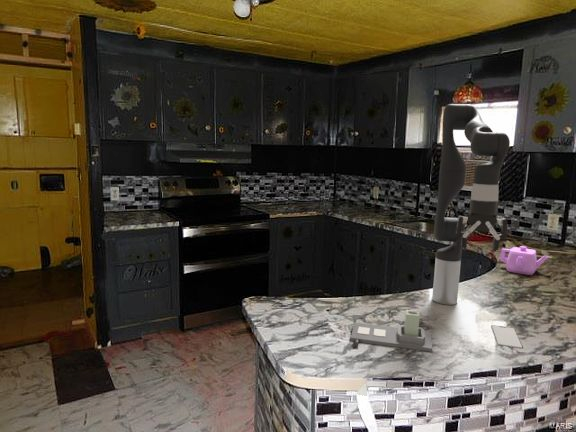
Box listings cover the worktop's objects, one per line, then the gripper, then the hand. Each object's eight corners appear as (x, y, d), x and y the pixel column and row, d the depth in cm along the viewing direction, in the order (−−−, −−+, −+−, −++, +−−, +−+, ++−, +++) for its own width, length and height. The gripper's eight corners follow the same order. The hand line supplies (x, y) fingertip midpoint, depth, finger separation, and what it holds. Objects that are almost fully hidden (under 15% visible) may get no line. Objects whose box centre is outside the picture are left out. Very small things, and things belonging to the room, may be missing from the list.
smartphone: (497, 344, 129) (490, 324, 143) (496, 346, 130) (490, 326, 144) (524, 348, 127) (514, 328, 141) (523, 350, 127) (514, 330, 141)
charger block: (403, 333, 133) (405, 309, 132) (417, 335, 132) (419, 310, 131) (404, 339, 130) (405, 313, 128) (417, 340, 129) (419, 315, 127)
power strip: (354, 325, 141) (354, 317, 141) (429, 334, 135) (430, 326, 135) (349, 346, 126) (349, 337, 125) (433, 358, 120) (434, 348, 120)
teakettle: (523, 265, 221) (526, 242, 219) (548, 275, 205) (551, 250, 203) (494, 266, 218) (496, 243, 216) (517, 276, 202) (520, 251, 200)
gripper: (506, 198, 131) (501, 249, 133) (457, 196, 134) (453, 245, 137) (512, 201, 124) (506, 255, 126) (461, 198, 127) (456, 251, 130)
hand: (479, 250), depth 131 cm, fingers open, 8 cm apart
